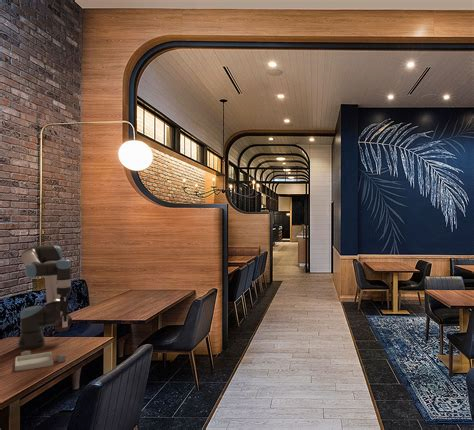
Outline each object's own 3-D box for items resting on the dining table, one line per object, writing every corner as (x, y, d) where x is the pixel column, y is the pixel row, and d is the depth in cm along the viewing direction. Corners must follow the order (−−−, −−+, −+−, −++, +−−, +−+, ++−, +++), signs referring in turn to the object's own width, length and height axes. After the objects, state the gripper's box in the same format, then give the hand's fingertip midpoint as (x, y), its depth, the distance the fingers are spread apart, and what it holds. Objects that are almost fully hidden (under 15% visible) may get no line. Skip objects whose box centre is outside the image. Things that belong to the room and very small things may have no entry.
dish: (15, 361, 224) (15, 356, 224) (51, 356, 232) (51, 351, 232) (15, 371, 208) (14, 366, 208) (53, 365, 216) (53, 360, 216)
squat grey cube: (56, 361, 224) (56, 355, 224) (62, 359, 226) (62, 354, 226) (59, 362, 221) (59, 357, 221) (65, 361, 223) (65, 355, 223)
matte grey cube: (24, 356, 233) (24, 350, 234) (30, 356, 233) (30, 350, 233) (20, 358, 230) (20, 352, 230) (27, 358, 229) (27, 352, 229)
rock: (52, 334, 230) (71, 332, 232) (51, 319, 230) (70, 317, 232) (57, 329, 241) (75, 327, 243) (56, 315, 242) (74, 313, 243)
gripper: (55, 284, 246) (55, 321, 246) (58, 290, 225) (58, 330, 224) (68, 283, 250) (68, 319, 249) (73, 289, 228) (73, 328, 228)
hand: (64, 324), depth 237 cm, fingers closed on rock, 12 cm apart
